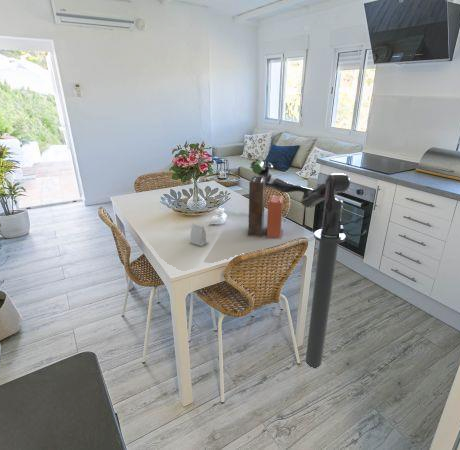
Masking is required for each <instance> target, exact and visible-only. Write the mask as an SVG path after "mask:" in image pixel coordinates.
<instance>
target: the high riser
mask: <svg viewBox="0 0 460 450" xmlns="http://www.w3.org/2000/svg"><path fill="white" fill-rule="evenodd" d="M265 179H266V177H263V176H262V177H258V176H257V175H254V176H252V177H251V179H250V180H249V183H248V184H249V186H248V188H249V189H248V190H249V191H248V231H247V232H248V233H247V235H248V236H253V237H262V234H263V231H264V226H265V225H264V223H265V201H266V199H265V198H266V187H265Z"/></svg>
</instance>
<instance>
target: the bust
mask: <svg viewBox="0 0 460 450" xmlns="http://www.w3.org/2000/svg"><path fill="white" fill-rule="evenodd" d="M215 213H216V214H215V215H213V216H211V218H210V219H209V224H210V225H215V226H221V225H223V224H225V222H226V219H227V217H228V216H227V213H225V208H224V207H219V208H218V209H215Z"/></svg>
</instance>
